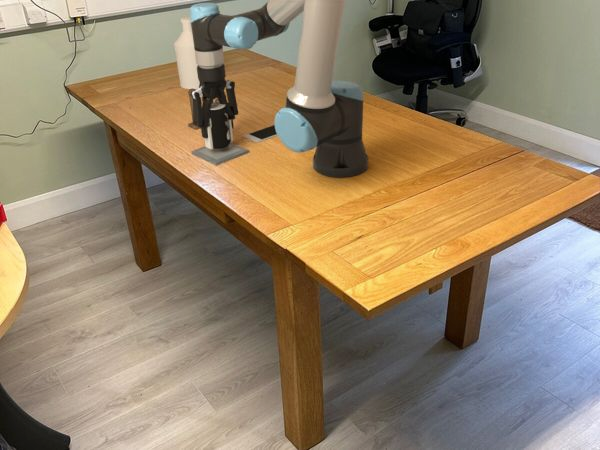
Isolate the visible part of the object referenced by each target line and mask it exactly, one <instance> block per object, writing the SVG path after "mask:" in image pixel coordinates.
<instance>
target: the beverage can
mask: <svg viewBox="0 0 600 450" xmlns="http://www.w3.org/2000/svg"><path fill="white" fill-rule="evenodd" d="M208 126H210V127H211V135H212V143H213V148H214V149H222V148H225V147H227V146H228V145H229V144H230V142H231V141H230V131H229V122H228V112H227V108H226V107H225V104H224V105H223V104H220V103H219V102H215V101H213V103H212V104H211V109H210V116H209V123H208ZM231 143H232V142H231Z"/></svg>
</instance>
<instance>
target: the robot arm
mask: <svg viewBox="0 0 600 450" xmlns="http://www.w3.org/2000/svg"><path fill="white" fill-rule="evenodd" d="M345 4H346V0H268V1H267V2H266V3H264V4H263V6H261V7H260V8H256V9H255V10H250V11H246V12H241V13H239V14H234V15H229V14H228V15H227V14H221V12H220V8H219V5H218V4H216V3H214V2H202V3H201V2H200V3H196V4H193V5H191V7H190V9H189V14H190V15H189V17H190V18H191V22H190V23H191V27H192V34H193V42H194V49H195V57H196V64H197V65H198V66H197V74H198V79H199V82H200V84H199V89H195V90H196V91H191V92H190V94H191V96H192V99H193V117H194V125H195V126H198V127H201V128H200V131H201V137H202V138H204V145H205V146H204V147H207V148H209V149H213V143H212V135H211V127H210V126H208V123H209V116H210V109H211V104H212V103H213V102H214V100H216V99H217V98H218V100H219V103H220V104H223V105H224V104H225V107H226V108H227V112H228V122H229V131H230V141H231V143H233V142H234V137H233V136H234V135H233V129H234V128H235V127H234V126H235V125H234V120H235V119H236V116H238V115H239V109H238V103H237V98H236V92H235V88H236V87H235V86H236V82H235V81H233V80H231V79H227V80H226V67H225V64H224V62H225V58H224V57H225V56H224V47H228V48H232V49H235V50H249V49H252V48H253V47H254V45H255V44H256V43H257V42H259V41H262V40H264V39H269V38H272V37H277V36H280V35H281V34H283V33H285V32H286V31H288V29H289V27H290V24H291V22H292V21H293V20H294V19H296V18H298V16H299V15H300V14H302V13H303V14H302V19H301V20H302V21H301V29H300V30H301V31H300V38H299V39H300V40H299V47H298V55H297V61H296V62H297V64H296V70H295V71H296V72H295V78H294V85H293V86H292V87H290V88H289V89H288V90H287V93H286V100H285V106H284V107H282V108H281V109H279V111H278V112H277V113H276V114H275V117H274V121H273V122H274V124H273V125H275V130H276V133H277V135H278V136H277V137H278V138H279V139H280V142H281V143H282V144H283V145H284V146H285V147H286V148H287V149H289V150H290V151H292V152H294V153H299V154H301V153H306V152H309V151H311V150H314V149H315V152H314V154H313V157H312V168H313V170H315V172H316V173H318V174H321V175H322V176H326V177H331V178H348V177H349V178H350V177H351V178H352V177H356V176H358V175H361V174H363V173H364V172H366V171H367V170H368V168H369V156H368V154H367V152H366V147H365V143H364V141H363V125H364V124H363V122H364V120H363V119H364V101H365V99H364V90H363V87H362V86H361V85H359V84H358V83H355V82H353V81H352V82H351V81H346V80H345V81H344V80H333V76H334V70H335V66H336V60H337V54H338V46H339V42H340V41H339V40H340V34H341V31H342V30H341V29H342V23H343V17H344V12H345V11H344V9H345ZM223 46H224V47H223ZM225 91H226V92H225Z"/></svg>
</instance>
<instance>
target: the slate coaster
mask: <svg viewBox="0 0 600 450" xmlns="http://www.w3.org/2000/svg"><path fill="white" fill-rule="evenodd" d="M190 153H191V155H193V156H195V157H197V158H200V159H201V160H204V161H206V162H208V163H210V164H212V165H215V166H218V165H222V164H223V163H224V164H225V163H226V162H229V161H231V160H234V159H237V158H239V157H241V156H244V155H247V154H249V153H250V150H249V149H248V148H246V147H243V146H241V145H239V144H235V143H233V142H230V144H229V145H228V146H227V147H225V148H222V149H214V148H213V149H209V148H207V147H205V146H203V147H200V148H197V149H194V150H191V152H190Z"/></svg>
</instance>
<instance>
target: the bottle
mask: <svg viewBox="0 0 600 450" xmlns="http://www.w3.org/2000/svg"><path fill="white" fill-rule="evenodd" d="M190 22H191V18H190V16H185V17H181V18H180V23H181V26H182V31H181V33H180V35H179V36H178V38H177V39H176V40H175V42H174V43H173V48H174V53H175V60H176V64H177V65H176V66H177V72H178V78H179V85H180V87H181V88H182V89H186V90H190V89H192V88H193V89H195V90H197V89H199V84H200V82H199V79H198V74H197V66H198V65H197V64H196V57H195V49H194V42H193V34H192V27H191V23H190Z"/></svg>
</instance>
